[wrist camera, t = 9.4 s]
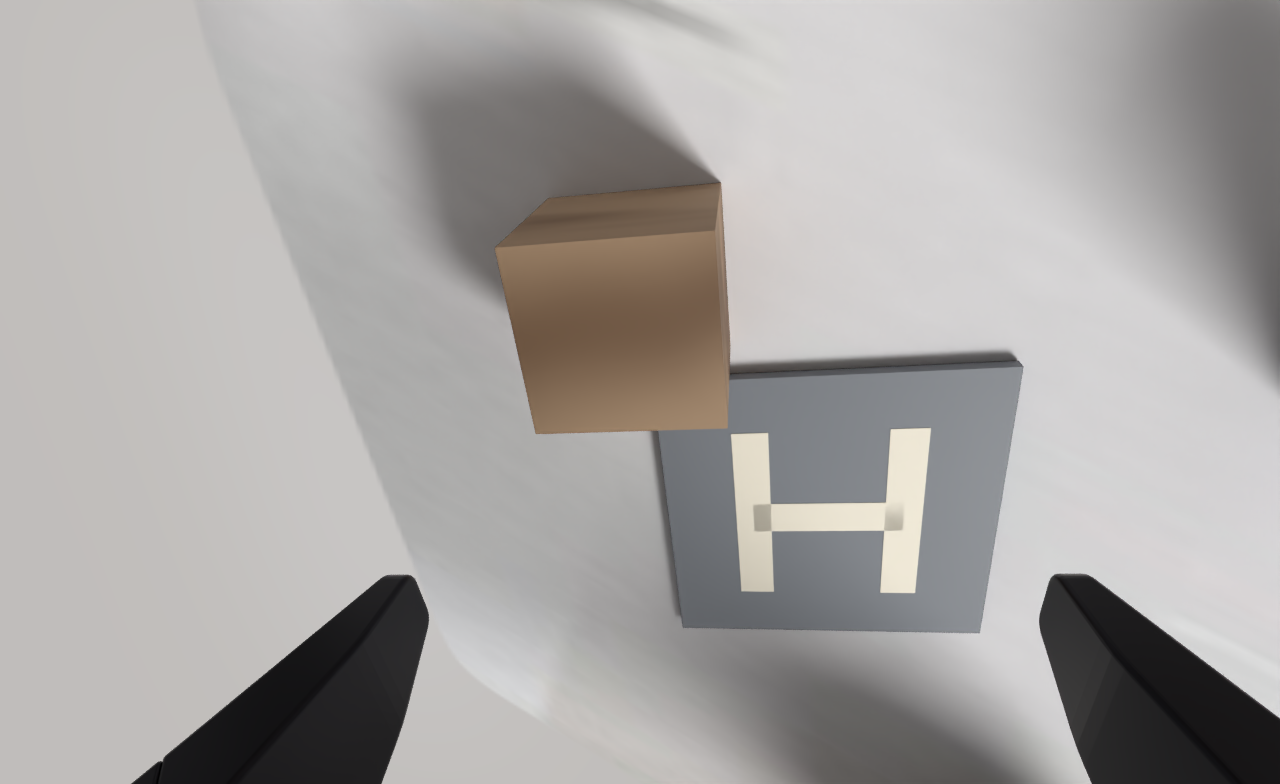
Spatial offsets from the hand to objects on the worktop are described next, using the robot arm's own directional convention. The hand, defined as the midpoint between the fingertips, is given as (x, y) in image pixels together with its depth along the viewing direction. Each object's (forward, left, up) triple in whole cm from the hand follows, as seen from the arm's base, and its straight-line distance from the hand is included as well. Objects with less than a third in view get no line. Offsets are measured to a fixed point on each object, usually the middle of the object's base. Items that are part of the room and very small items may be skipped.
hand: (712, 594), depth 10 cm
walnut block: (+1, +3, -12) cm, 13 cm away
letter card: (-8, -3, -12) cm, 15 cm away
